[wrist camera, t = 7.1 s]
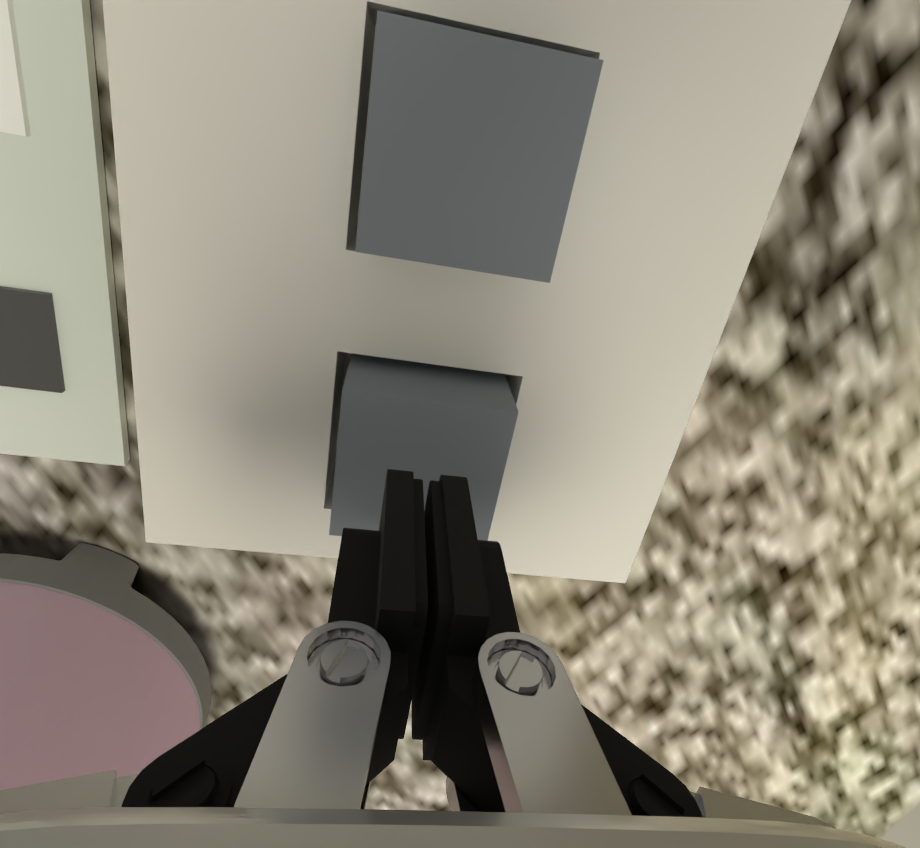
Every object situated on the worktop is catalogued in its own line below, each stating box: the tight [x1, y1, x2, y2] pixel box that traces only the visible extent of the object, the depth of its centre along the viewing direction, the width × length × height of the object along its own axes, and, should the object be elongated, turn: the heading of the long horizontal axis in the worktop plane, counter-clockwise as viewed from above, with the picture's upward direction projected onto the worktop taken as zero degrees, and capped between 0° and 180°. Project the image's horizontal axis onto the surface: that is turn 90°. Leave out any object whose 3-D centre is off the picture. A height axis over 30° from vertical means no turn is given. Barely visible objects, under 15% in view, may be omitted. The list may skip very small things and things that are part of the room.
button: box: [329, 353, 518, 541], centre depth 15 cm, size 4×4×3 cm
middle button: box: [355, 10, 604, 283], centre depth 12 cm, size 4×4×3 cm
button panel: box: [102, 0, 851, 583], centre depth 14 cm, size 22×14×4 cm, turn 170°
